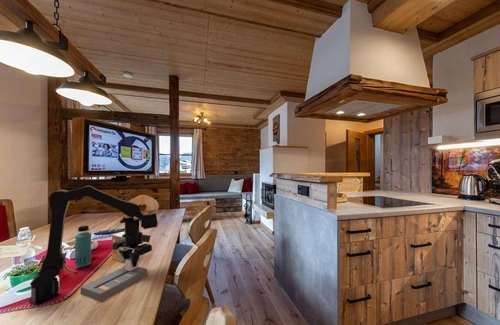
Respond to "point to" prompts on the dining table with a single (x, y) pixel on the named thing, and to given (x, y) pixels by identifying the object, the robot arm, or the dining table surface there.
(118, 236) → the small box
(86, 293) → the console
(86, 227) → the beverage bottle
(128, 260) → the fader knob
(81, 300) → the dining table surface
